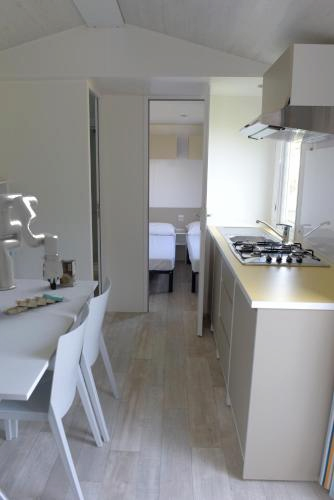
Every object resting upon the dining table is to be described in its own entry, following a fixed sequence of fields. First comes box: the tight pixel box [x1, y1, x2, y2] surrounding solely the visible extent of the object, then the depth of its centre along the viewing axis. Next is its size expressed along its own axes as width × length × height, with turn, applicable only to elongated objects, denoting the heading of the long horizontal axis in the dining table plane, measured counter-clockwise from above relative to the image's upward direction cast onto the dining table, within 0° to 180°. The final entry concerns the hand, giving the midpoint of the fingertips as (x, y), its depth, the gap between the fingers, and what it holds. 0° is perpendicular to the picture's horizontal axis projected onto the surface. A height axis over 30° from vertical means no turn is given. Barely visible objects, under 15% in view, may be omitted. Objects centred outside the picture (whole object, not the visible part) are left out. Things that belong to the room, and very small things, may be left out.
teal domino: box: [41, 293, 63, 301], centre depth 211 cm, size 5×2×10 cm
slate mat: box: [24, 296, 72, 313], centre depth 209 cm, size 9×26×1 cm, turn 132°
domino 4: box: [33, 295, 55, 303], centre depth 208 cm, size 5×2×10 cm
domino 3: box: [24, 297, 46, 305], centre depth 205 cm, size 5×2×10 cm
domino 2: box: [15, 299, 37, 308], centre depth 201 cm, size 5×2×10 cm
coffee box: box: [59, 259, 77, 287], centre depth 242 cm, size 9×6×16 cm
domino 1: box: [4, 305, 28, 315], centre depth 198 cm, size 5×2×10 cm
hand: (53, 289), depth 211 cm, fingers closed
